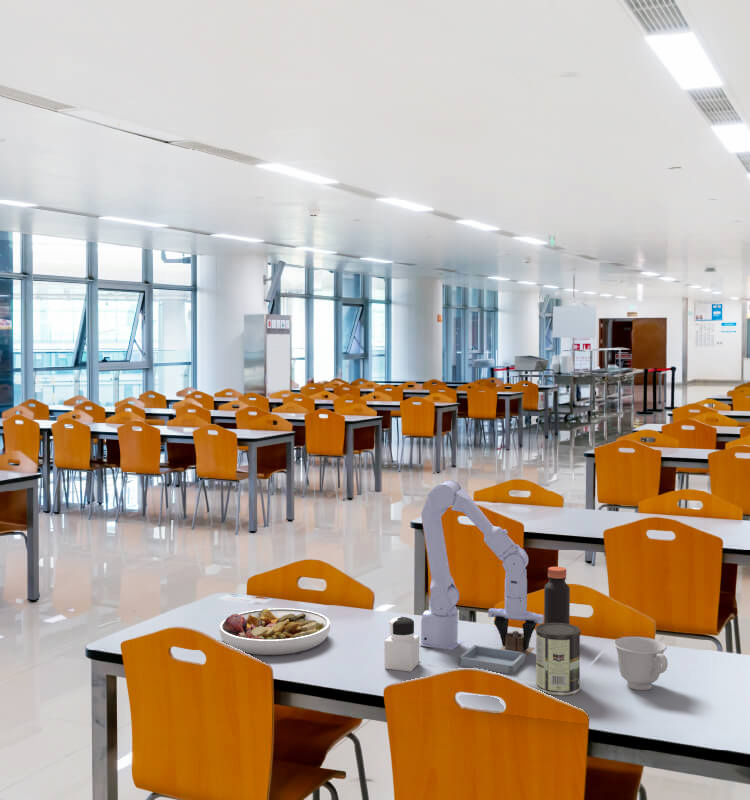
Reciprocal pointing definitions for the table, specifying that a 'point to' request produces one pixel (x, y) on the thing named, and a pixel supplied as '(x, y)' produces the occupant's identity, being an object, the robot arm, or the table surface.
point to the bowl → (275, 631)
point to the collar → (514, 642)
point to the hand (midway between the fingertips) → (515, 646)
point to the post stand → (529, 650)
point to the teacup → (640, 660)
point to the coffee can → (558, 658)
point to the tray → (492, 659)
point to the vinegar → (556, 597)
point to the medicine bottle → (401, 645)
